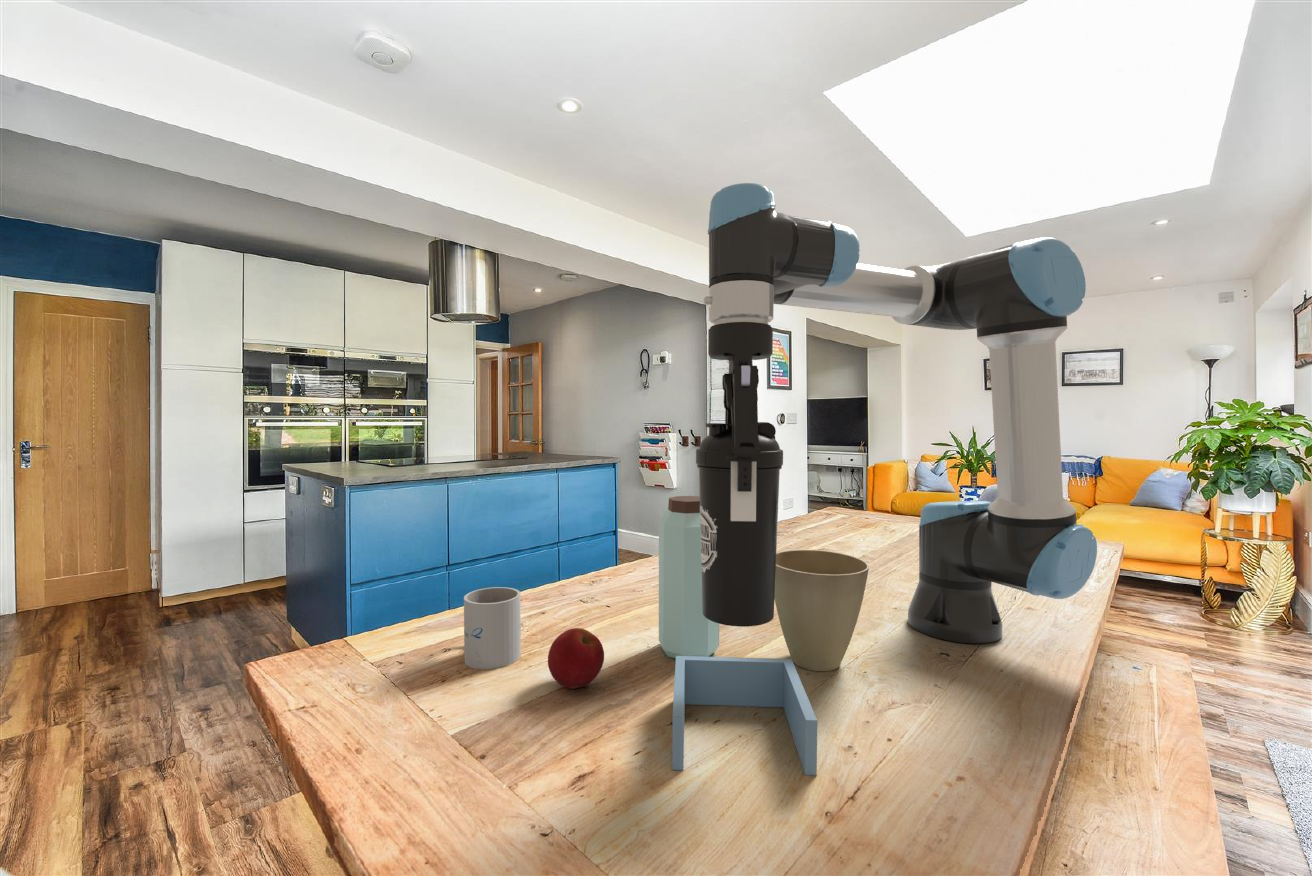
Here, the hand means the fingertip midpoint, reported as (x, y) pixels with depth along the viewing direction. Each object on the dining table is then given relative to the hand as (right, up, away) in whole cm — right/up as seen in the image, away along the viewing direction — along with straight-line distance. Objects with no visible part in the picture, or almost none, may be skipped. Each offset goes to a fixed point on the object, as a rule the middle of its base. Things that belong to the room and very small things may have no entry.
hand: (738, 512), depth 68 cm
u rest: (0, -27, +1) cm, 27 cm away
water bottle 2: (0, -12, 0) cm, 12 cm away
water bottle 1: (-4, -26, +25) cm, 37 cm away
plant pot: (+15, -26, +21) cm, 37 cm away
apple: (-21, -27, +13) cm, 37 cm away
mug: (-37, -26, +24) cm, 51 cm away
